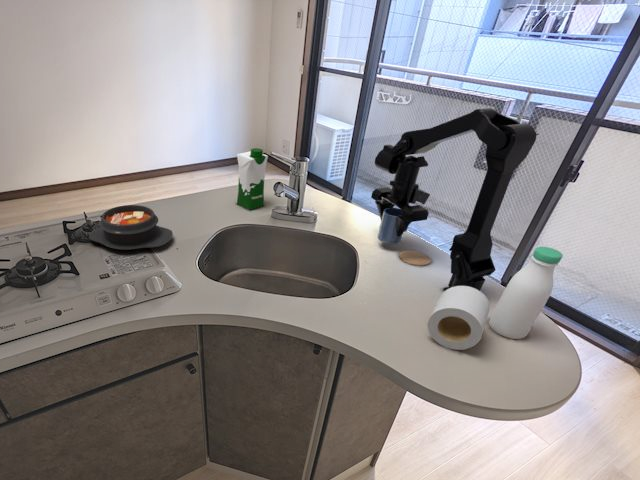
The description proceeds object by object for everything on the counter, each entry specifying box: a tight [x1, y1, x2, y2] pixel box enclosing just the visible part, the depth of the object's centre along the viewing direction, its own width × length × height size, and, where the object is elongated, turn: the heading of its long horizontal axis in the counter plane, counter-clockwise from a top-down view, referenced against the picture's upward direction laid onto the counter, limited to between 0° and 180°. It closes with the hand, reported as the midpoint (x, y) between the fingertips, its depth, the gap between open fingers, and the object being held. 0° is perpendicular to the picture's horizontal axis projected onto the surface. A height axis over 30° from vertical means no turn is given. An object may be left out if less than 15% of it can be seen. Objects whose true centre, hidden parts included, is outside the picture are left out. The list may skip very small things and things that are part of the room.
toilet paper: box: [427, 286, 491, 351], centre depth 84 cm, size 10×10×10 cm
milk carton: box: [236, 147, 269, 211], centre depth 138 cm, size 9×9×20 cm
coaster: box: [398, 249, 432, 267], centre depth 115 cm, size 9×9×1 cm
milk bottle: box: [488, 246, 563, 340], centre depth 83 cm, size 8×8×20 cm
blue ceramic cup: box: [377, 207, 409, 245], centre depth 117 cm, size 9×7×8 cm
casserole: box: [88, 204, 173, 251], centre depth 117 cm, size 25×19×8 cm
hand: (391, 231), depth 117 cm, fingers closed on blue ceramic cup, 7 cm apart
